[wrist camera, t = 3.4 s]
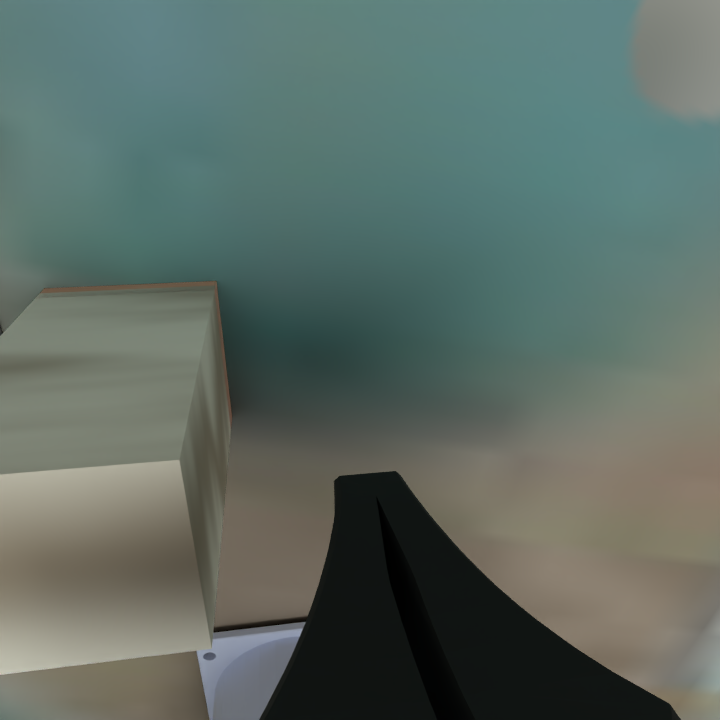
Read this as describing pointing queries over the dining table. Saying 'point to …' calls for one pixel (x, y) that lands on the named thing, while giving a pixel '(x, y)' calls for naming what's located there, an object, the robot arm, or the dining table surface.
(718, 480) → the dining table surface
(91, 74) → the dining table surface
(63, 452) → the block
